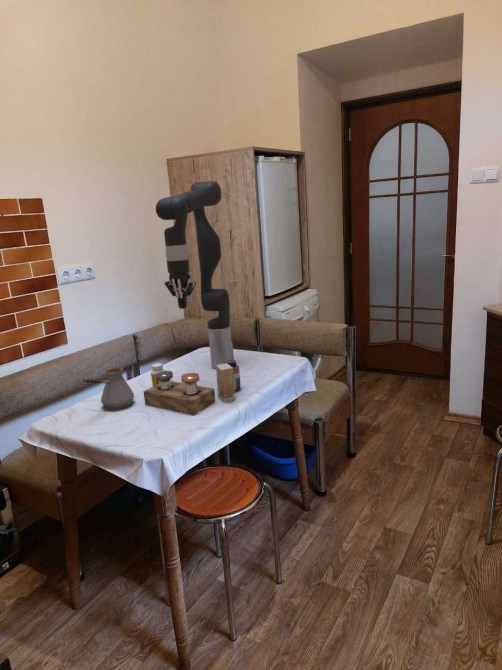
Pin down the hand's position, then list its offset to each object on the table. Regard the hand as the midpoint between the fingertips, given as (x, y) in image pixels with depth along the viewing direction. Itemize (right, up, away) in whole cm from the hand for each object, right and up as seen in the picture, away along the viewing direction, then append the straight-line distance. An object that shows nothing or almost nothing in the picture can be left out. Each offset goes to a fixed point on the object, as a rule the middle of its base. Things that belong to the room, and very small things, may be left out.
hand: (182, 308), depth 166 cm
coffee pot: (-25, -36, -2) cm, 44 cm away
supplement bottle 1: (-11, -30, +15) cm, 36 cm away
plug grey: (-6, -32, +3) cm, 33 cm away
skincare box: (+15, -32, +1) cm, 36 cm away
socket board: (-1, -33, 0) cm, 33 cm away
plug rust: (+4, -32, -4) cm, 33 cm away
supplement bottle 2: (+17, -30, +9) cm, 36 cm away
